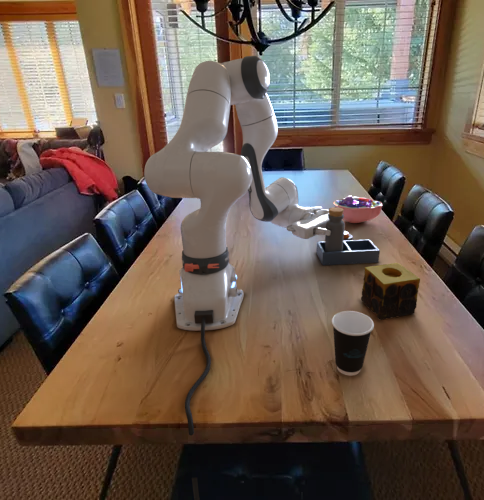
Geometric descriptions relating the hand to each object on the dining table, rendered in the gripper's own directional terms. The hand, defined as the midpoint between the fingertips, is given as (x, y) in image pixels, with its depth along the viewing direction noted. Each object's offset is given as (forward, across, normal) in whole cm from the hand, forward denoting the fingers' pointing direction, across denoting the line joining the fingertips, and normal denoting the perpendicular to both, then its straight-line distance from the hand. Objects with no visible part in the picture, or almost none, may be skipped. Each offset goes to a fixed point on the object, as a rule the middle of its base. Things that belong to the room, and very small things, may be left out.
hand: (337, 229), depth 119 cm
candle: (+27, -16, +10) cm, 33 cm away
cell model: (-15, +37, +11) cm, 41 cm away
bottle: (-1, 0, +8) cm, 9 cm away
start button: (-6, +13, +8) cm, 16 cm away
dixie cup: (+32, -42, +10) cm, 53 cm away
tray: (+2, +3, +10) cm, 11 cm away
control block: (-6, +13, +10) cm, 17 cm away
